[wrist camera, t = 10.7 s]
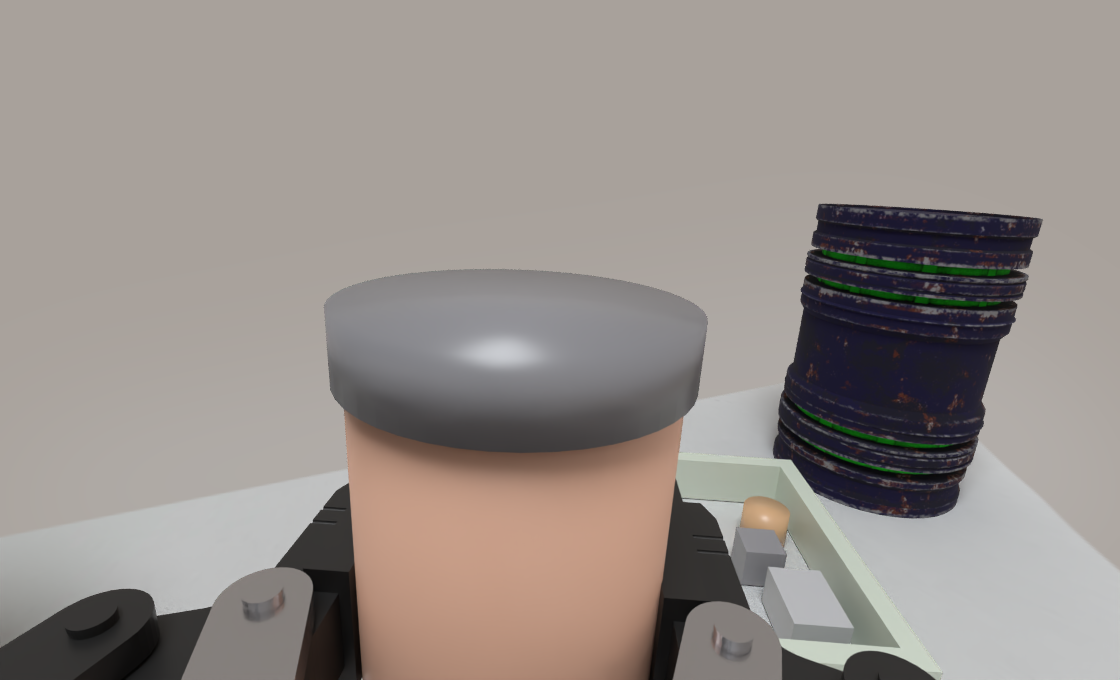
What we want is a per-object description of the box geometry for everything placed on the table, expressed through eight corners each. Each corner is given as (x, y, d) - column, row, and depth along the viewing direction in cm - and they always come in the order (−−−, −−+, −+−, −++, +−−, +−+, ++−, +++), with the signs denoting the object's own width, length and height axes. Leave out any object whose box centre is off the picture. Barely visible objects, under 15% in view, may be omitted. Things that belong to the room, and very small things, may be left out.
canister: (321, 1057, 9) (228, 340, 5) (417, 742, 14) (401, 262, 10) (638, 1092, 9) (759, 375, 5) (620, 760, 13) (675, 278, 10)
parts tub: (456, 688, 17) (455, 633, 17) (510, 477, 29) (511, 440, 29) (924, 727, 17) (943, 672, 16) (783, 496, 29) (790, 459, 28)
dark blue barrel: (737, 439, 35) (776, 201, 31) (854, 424, 38) (905, 206, 34) (865, 534, 26) (945, 216, 22) (1004, 504, 29) (1099, 222, 25)
